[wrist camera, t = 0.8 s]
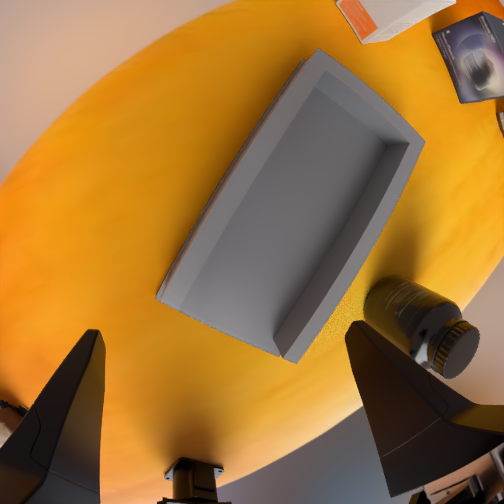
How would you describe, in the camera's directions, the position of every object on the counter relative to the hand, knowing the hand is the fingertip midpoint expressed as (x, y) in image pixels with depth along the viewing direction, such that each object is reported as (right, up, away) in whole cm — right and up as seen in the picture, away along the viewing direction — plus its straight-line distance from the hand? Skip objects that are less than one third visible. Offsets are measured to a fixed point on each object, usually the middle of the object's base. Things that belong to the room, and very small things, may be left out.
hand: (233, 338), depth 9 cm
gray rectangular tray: (+4, +7, +15) cm, 17 cm away
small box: (+28, +28, +15) cm, 42 cm away
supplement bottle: (+15, -3, +19) cm, 25 cm away
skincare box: (+12, +28, +12) cm, 33 cm away
